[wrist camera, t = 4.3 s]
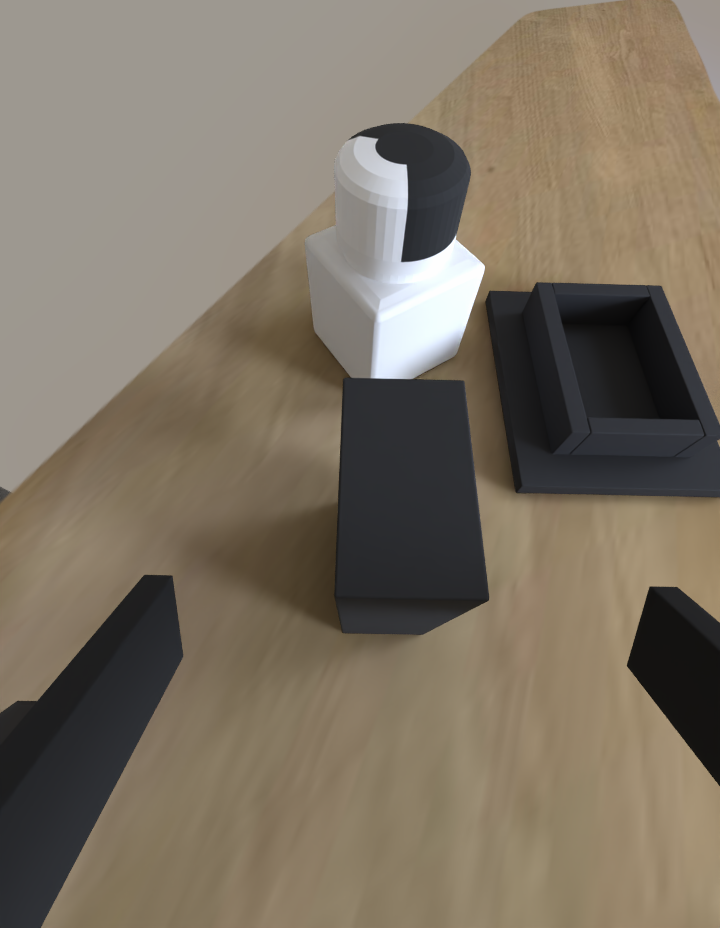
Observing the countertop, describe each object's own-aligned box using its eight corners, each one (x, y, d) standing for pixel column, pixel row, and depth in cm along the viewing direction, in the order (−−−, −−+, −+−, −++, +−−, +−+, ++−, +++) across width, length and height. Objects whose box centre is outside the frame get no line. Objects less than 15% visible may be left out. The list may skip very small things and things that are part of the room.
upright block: (341, 633, 21) (334, 598, 11) (346, 499, 24) (343, 376, 14) (423, 634, 21) (490, 600, 11) (417, 500, 24) (464, 379, 14)
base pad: (515, 493, 24) (539, 466, 21) (485, 301, 31) (500, 259, 28) (723, 497, 24) (779, 471, 21) (648, 305, 31) (682, 264, 28)
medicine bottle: (396, 291, 31) (421, 89, 20) (458, 356, 28) (523, 164, 18) (312, 331, 29) (290, 131, 18) (369, 404, 27) (383, 221, 16)
